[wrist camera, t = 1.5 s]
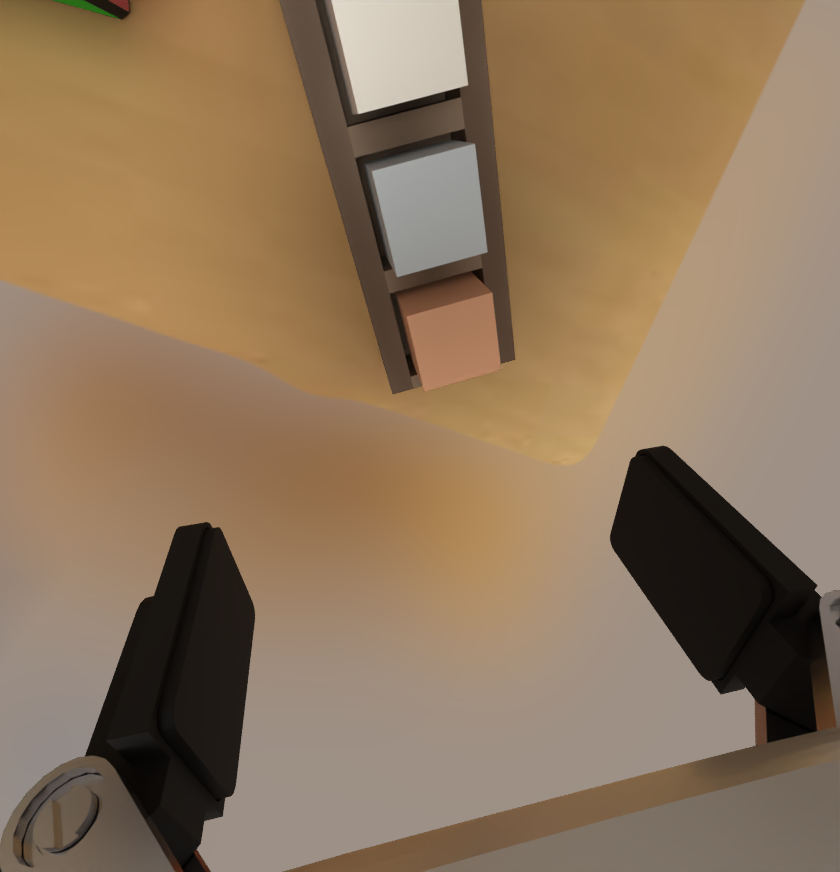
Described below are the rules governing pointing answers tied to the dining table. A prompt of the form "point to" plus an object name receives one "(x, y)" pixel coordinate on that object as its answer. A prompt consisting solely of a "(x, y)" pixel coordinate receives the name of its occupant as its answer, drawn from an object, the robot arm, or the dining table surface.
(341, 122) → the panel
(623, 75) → the dining table surface
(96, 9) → the puzzle cube
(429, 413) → the dining table surface
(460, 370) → the orange cube
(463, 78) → the white cube
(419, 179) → the light grey cube
